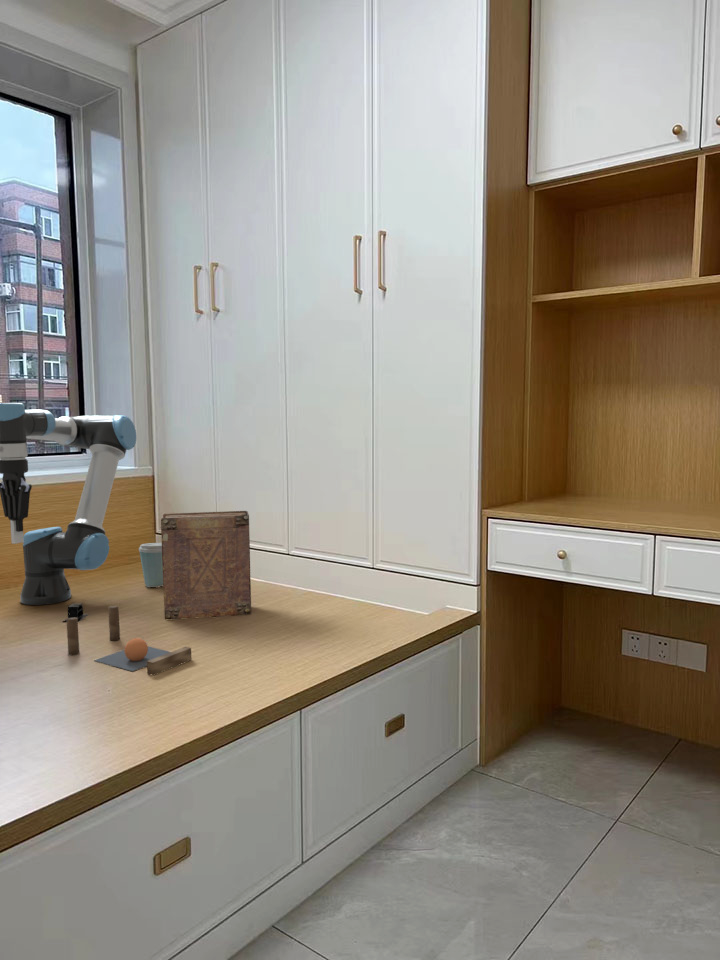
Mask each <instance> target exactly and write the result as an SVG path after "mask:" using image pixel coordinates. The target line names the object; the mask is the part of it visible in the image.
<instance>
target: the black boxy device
mask: <svg viewBox="0 0 720 960" xmlns="http://www.w3.org/2000/svg"><path fill="white" fill-rule="evenodd" d="M89 615H90V614H89V613H86V614H85V613H84V605H83V603H71V604H70V605H69V606H67V618H66V619H68V618H73V617H75V618H78V623H80V622H81V621H82V620H83V619H85V618H86V617H88V616H89ZM66 619H64V620H65V621H64V620H63V621H62V623H67V620H66Z"/></svg>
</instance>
